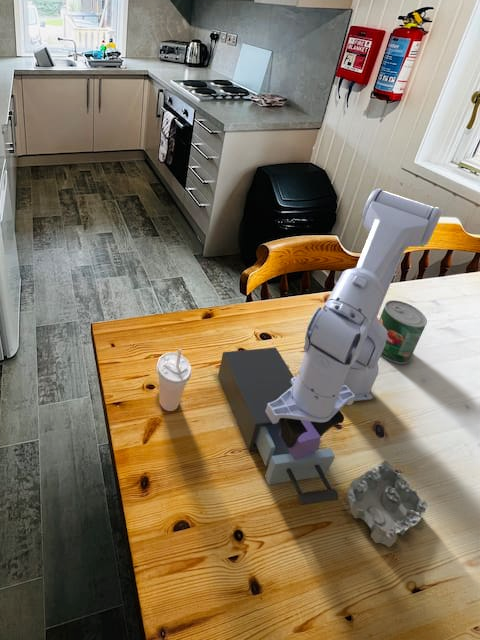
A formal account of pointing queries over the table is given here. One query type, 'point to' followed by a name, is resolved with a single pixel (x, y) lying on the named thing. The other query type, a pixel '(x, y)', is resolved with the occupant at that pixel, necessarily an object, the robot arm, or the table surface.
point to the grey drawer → (294, 465)
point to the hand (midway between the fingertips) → (298, 438)
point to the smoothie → (172, 379)
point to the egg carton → (385, 503)
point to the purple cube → (305, 442)
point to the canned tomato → (401, 330)
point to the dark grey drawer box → (253, 387)
